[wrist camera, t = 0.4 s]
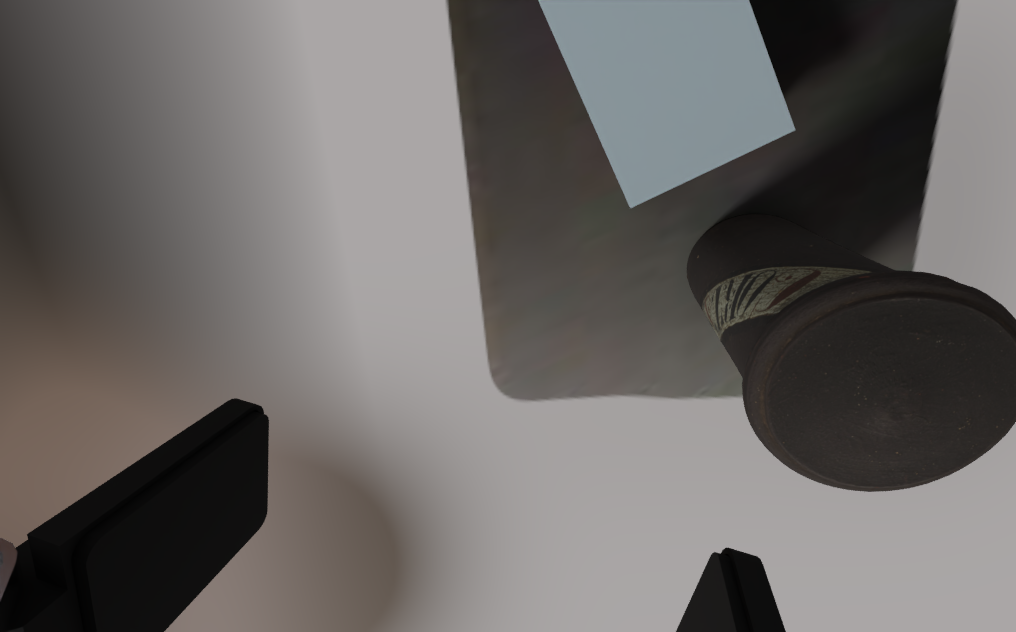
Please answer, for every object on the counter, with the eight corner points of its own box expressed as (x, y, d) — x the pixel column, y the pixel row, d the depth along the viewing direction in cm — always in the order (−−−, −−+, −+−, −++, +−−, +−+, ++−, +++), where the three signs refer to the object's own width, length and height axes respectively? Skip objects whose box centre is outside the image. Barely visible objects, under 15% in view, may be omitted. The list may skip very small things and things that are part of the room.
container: (692, 205, 35) (777, 273, 16) (833, 210, 33) (1109, 292, 15) (676, 321, 38) (734, 492, 19) (806, 331, 36) (1007, 529, 17)
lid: (672, -179, 25) (696, -319, 17) (784, 130, 28) (845, 125, 20) (511, -64, 28) (472, -140, 20) (629, 204, 31) (633, 223, 23)
